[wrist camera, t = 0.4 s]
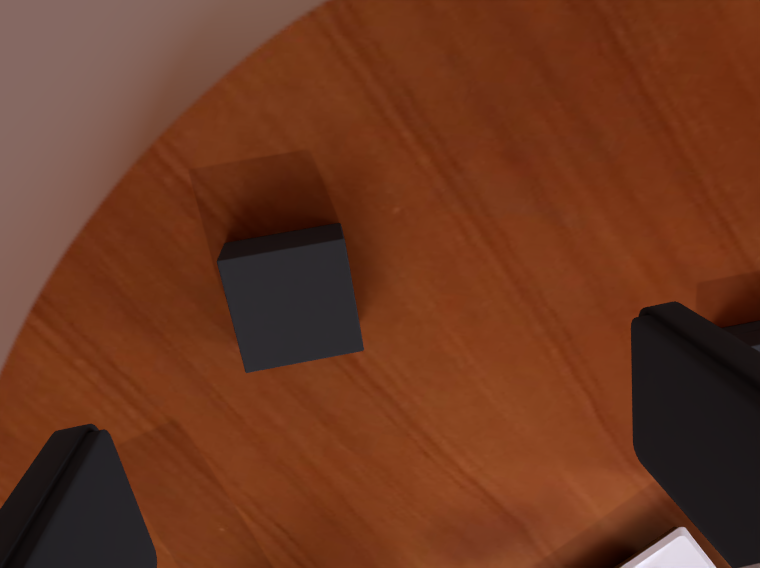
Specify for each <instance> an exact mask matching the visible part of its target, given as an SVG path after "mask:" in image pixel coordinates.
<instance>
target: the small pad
mask: <svg viewBox="0 0 760 568" xmlns="http://www.w3.org/2000/svg"><path fill="white" fill-rule="evenodd" d="M217 264H218V268H219V272H220V276H221V280H222V283H223V287H224V291H225V295H226V299H227V303H228V307H229V310H230V314H231V318H232V322H233V326H234V330H235V333H236V337H237V341H238V345H239V349H240V353H241V356H242V360H243V364H244V368H245V372H246V373H249V372H254V371H259V370H265V369H270V368H275V367H280V366H286V365H291V364H296V363H301V362H307V361H312V360H317V359H322V358H327V357H333V356H338V355H343V354H348V353H354V352H359V351H363V350H364V347H363V341H362V335H361V330H360V324H359V318H358V313H357V307H356V301H355V296H354V290H353V284H352V278H351V273H350V267H349V261H348V256H347V250H346V244H345V239H344V235H343V231H342V227H341V224H340V223H336V224H331V225H325V226H319V227H313V228H308V229H302V230H296V231H291V232H285V233H279V234H274V235H268V236H262V237H257V238H251V239H245V240H240V241H234V242H228V243H225V244H224V246H223V248H222V250H221V253H220V255H219V257H218V259H217Z"/></svg>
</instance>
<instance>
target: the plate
mask: <svg viewBox="0 0 760 568" xmlns="http://www.w3.org/2000/svg"><path fill="white" fill-rule="evenodd" d="M614 568H716V567H715V565H714V564H713V563H712V561H711V560H710V559H709V558H708V556H707V555H706V554H705V553H704V551H703V550H702V549H701V547H700V546H699V545H698V544H697V542H696V541H695V540H694V538H693V537H692V536H691V535H690V533H689V532H688V531H687V529H686V528H685V527H673V528H672V529H670V530H669V531H667V532H666V533H664V534H663V535H661V536H660V537H658V538H657V539H655V540H654V541H653V542H651V543H650V544H648V545H647V546H645V547H644V548H642V549H641V550H639V551H638V552H636V553H635V554H633V555H632V556H631V557H629V558H628V559H626V560H625V561H623V562H622V563H620V564H619V565H617V566H616V567H614Z"/></svg>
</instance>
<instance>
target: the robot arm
mask: <svg viewBox="0 0 760 568" xmlns="http://www.w3.org/2000/svg"><path fill="white" fill-rule="evenodd" d="M631 352H632V412H633V446H634V450H635V453H636V455H637V457H638V459H639V461H640V462H641V464H642V465H643V466H644V467H645V468H646V469H647V471H648V472H649V473H650V474H651V475H652V476H653V477H654V479H655V480H656V481H657V482H658V483H659V484H660V486H661V487H662V488H663V489H664V490H665V491H666V492H667V494H668V495H669V496H670V497H671V498H672V499H673V500H674V502H675V503H676V504H677V505H678V506H679V507H680V509H681V510H682V511H683V512H684V513H685V514H686V515H687V517H688V518H689V519H690V520H691V521H692V522H693V523H694V525H695V526H696V527H697V528H698V529H699V530H700V532H701V533H702V534H703V535H704V536H705V537H706V538H707V540H708V541H709V542H710V543H711V544H712V545H713V546H714V548H715V549H716V550H717V551H718V552H719V553H720V555H721V556H722V557H723V558H724V559H725V560H726V561H727V563H728V564H729V565H730V566H731V567H732V568H760V352H759V351H758V350H756V349H754V348H753V347H751V346H749V345H748V344H746V343H745V342H743V341H741V340H740V339H738V338H736V337H735V336H733V335H731V334H730V333H728V332H726V331H725V330H723V329H722V328H720V327H718V326H717V325H715V324H713V323H712V322H710V321H708V320H707V319H705V318H703V317H702V316H700V315H698V314H697V313H695V312H694V311H692V310H690V309H689V308H687V307H685V306H684V305H682V304H680V303H678V302H669V303H664V304H660V305H655V306H650V307H645V308H643V309H642V310H641V311H640V313H639V317H636V318H634V319H633V320H632V323H631ZM0 568H157V557H156V551H155V548H154V545H153V543H152V540H151V538H150V535H149V533H148V530H147V527H146V525H145V522H144V520H143V517H142V515H141V512H140V509H139V507H138V504H137V502H136V499H135V497H134V494H133V492H132V489H131V486H130V484H129V481H128V479H127V476H126V474H125V471H124V469H123V466H122V463H121V461H120V458H119V456H118V453H117V451H116V448H115V446H114V443H113V440H112V438H111V436H110V434H109V433H108V431H107V430H98V428H97V427H96V426H95V425H93V424H87V425H82V426H77V427H73V428H68V429H63V430H58V431H55V432H54V433H53V434H52V435H51V437H50V438H49V440H48V441H47V443H46V444H45V445H44V447H43V448H42V450H41V451H40V453H39V454H38V456H37V457H36V458H35V460H34V461H33V463H32V464H31V466H30V467H29V469H28V470H27V471H26V473H25V474H24V476H23V477H22V479H21V480H20V482H19V483H18V484H17V486H16V487H15V489H14V490H13V492H12V493H11V495H10V496H9V497H8V499H7V500H6V502H5V503H4V505H3V506H2V508H1V509H0Z"/></svg>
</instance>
